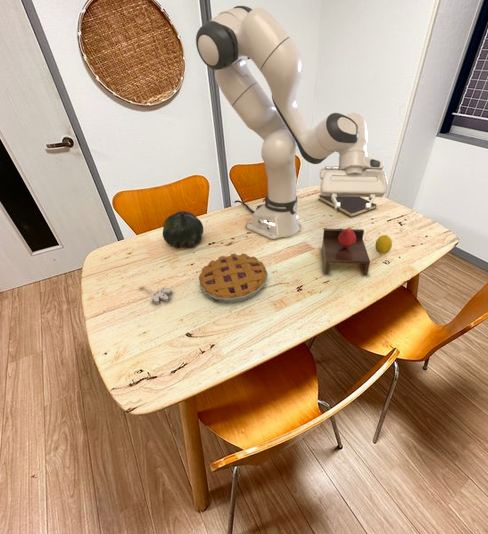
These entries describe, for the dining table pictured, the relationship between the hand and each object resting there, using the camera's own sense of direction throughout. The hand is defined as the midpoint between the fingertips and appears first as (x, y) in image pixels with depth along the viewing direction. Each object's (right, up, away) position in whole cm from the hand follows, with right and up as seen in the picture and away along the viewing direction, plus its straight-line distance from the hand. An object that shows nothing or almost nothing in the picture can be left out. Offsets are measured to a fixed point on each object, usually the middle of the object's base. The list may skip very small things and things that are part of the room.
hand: (352, 209), depth 86 cm
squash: (-59, -8, +25) cm, 65 cm away
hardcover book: (+11, +13, +50) cm, 52 cm away
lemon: (+15, -13, +16) cm, 26 cm away
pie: (-37, -23, +5) cm, 44 cm away
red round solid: (0, -12, +9) cm, 15 cm away
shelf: (0, -16, +13) cm, 21 cm away
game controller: (-62, -27, +2) cm, 67 cm away
